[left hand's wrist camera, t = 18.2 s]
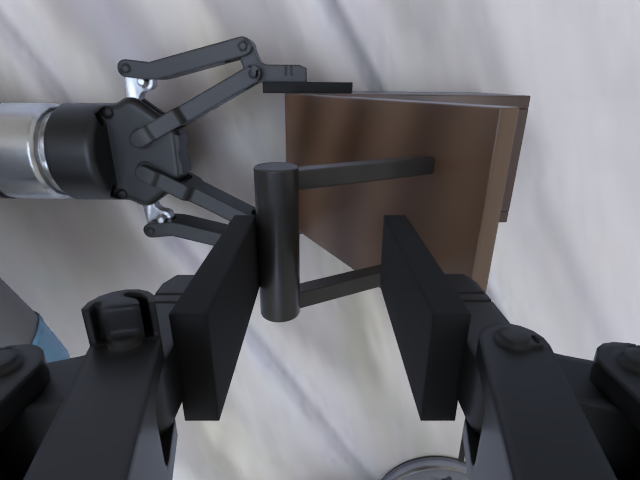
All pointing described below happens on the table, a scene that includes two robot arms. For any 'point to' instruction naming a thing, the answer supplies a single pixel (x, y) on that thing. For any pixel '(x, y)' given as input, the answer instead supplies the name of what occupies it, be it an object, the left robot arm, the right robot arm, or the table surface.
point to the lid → (378, 190)
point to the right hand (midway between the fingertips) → (348, 154)
